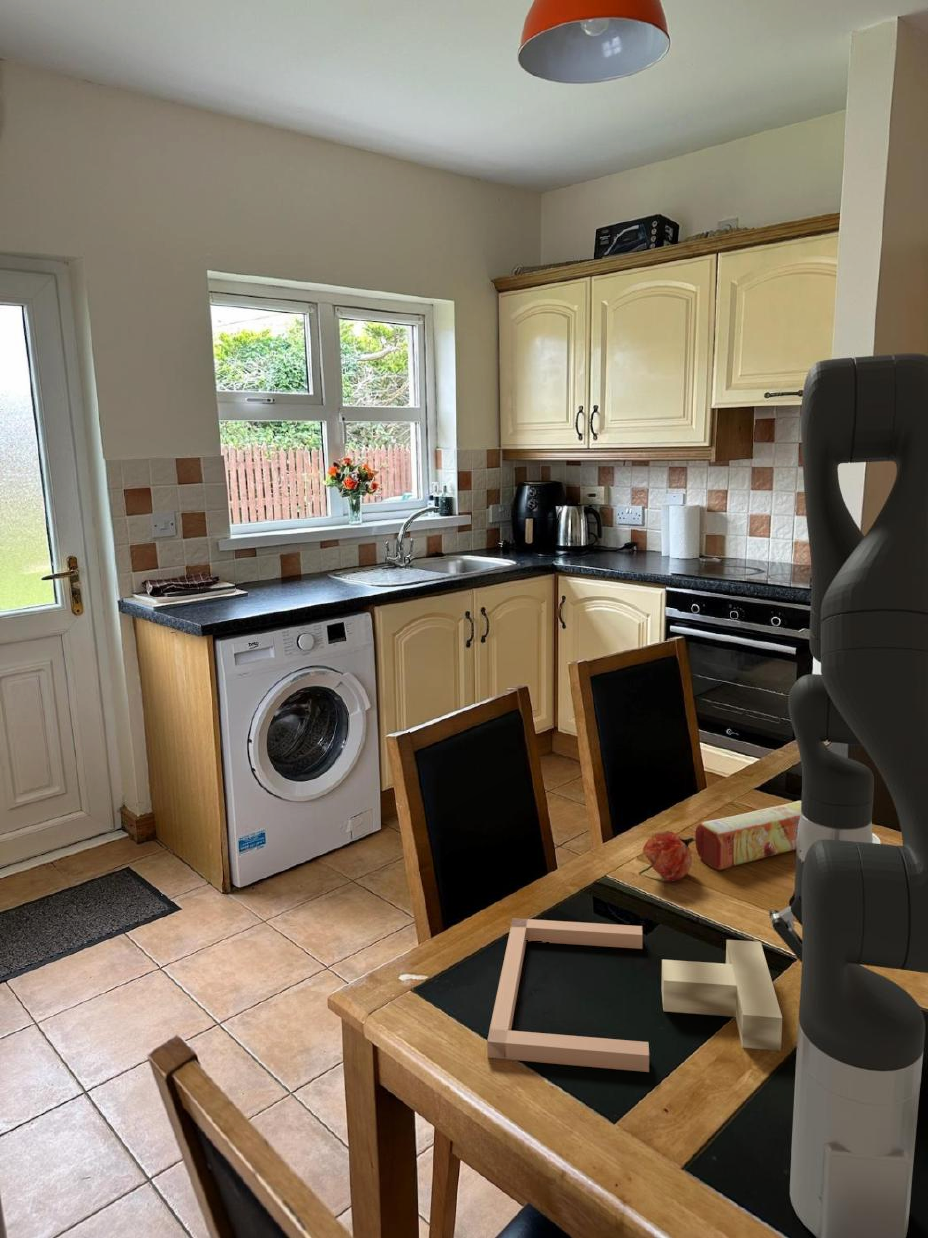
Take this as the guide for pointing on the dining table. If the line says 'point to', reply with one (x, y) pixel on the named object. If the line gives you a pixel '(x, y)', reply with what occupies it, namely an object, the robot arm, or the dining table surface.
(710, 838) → the snack package
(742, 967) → the T block
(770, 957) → the dining table surface
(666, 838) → the pomegranate
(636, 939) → the frame
